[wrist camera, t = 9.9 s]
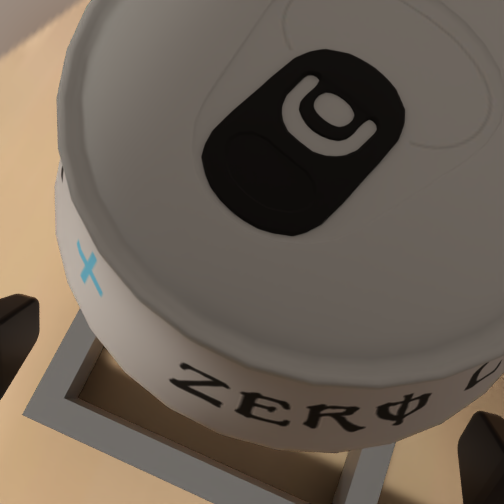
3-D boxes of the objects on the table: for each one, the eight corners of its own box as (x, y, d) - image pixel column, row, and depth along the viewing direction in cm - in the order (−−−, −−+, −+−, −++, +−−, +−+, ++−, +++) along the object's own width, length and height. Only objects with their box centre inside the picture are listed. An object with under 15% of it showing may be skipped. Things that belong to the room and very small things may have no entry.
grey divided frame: (703, 300, 20) (741, 292, 18) (657, 697, 15) (701, 728, 14) (204, 103, 21) (202, 81, 20) (39, 413, 17) (22, 414, 16)
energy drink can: (359, 325, 19) (810, 90, 4) (258, 446, 17) (420, 720, 3) (248, 227, 20) (306, -234, 5) (143, 333, 18) (-183, 97, 4)
